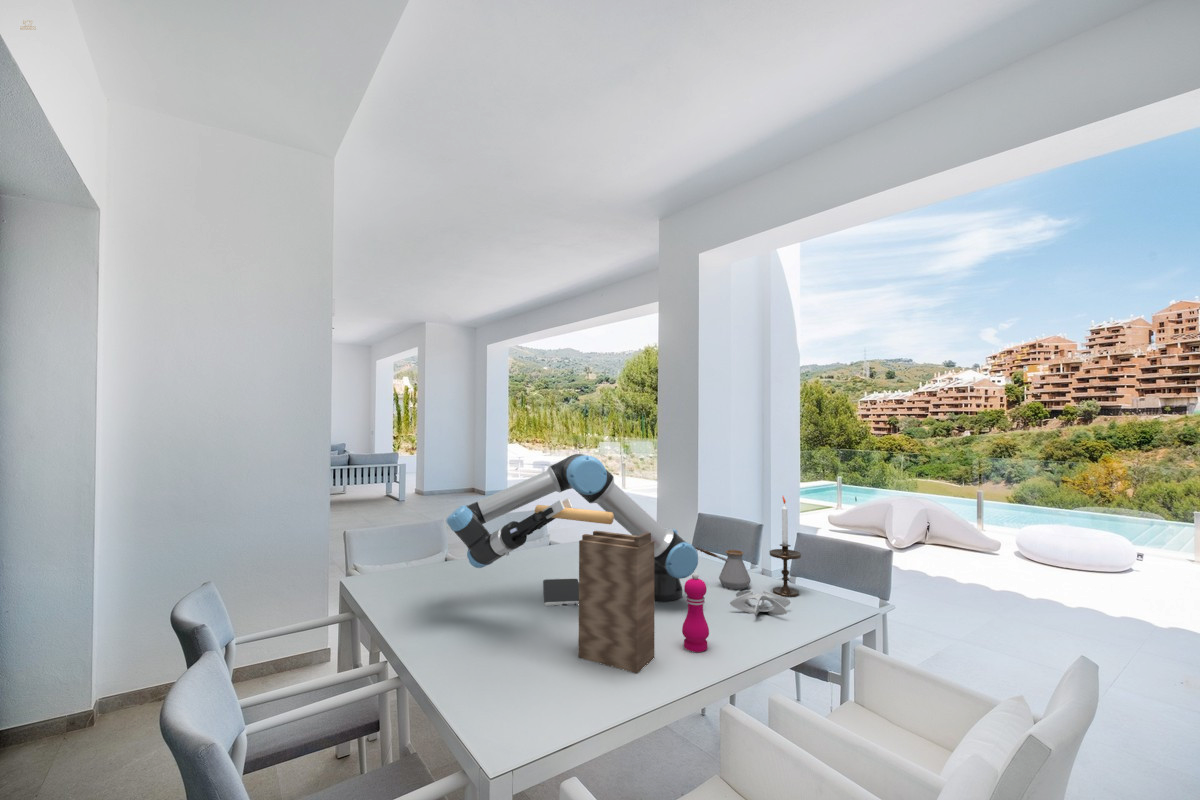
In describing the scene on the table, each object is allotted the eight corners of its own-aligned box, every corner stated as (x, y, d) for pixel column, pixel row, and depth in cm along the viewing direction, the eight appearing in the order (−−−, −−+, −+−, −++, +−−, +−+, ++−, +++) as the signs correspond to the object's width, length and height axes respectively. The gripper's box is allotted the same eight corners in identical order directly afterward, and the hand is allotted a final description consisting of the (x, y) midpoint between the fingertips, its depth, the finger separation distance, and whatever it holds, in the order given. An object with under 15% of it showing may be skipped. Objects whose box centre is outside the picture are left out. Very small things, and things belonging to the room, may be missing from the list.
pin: (534, 516, 150) (534, 505, 151) (541, 515, 153) (541, 504, 153) (607, 525, 138) (607, 513, 138) (613, 523, 141) (613, 511, 141)
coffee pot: (743, 581, 205) (742, 542, 205) (756, 590, 193) (755, 549, 194) (689, 583, 201) (689, 543, 202) (699, 593, 190) (699, 551, 191)
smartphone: (544, 608, 176) (544, 603, 176) (543, 583, 203) (543, 578, 203) (583, 607, 177) (583, 601, 177) (577, 582, 204) (577, 577, 204)
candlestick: (763, 590, 193) (762, 494, 195) (786, 587, 198) (785, 492, 199) (784, 599, 184) (783, 498, 185) (808, 595, 188) (807, 496, 189)
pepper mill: (703, 655, 139) (703, 578, 140) (677, 649, 142) (677, 574, 143) (713, 645, 145) (712, 571, 146) (688, 640, 149) (688, 568, 149)
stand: (578, 657, 137) (579, 531, 139) (598, 643, 146) (598, 525, 147) (636, 673, 128) (637, 538, 130) (654, 658, 137) (654, 531, 138)
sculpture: (726, 618, 166) (726, 597, 166) (739, 599, 184) (738, 581, 184) (785, 627, 158) (784, 606, 158) (792, 607, 176) (792, 588, 176)
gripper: (531, 544, 163) (587, 511, 153) (495, 555, 149) (554, 520, 139) (521, 521, 165) (576, 488, 155) (485, 530, 151) (543, 494, 141)
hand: (566, 503), depth 147 cm, fingers closed on pin, 3 cm apart
